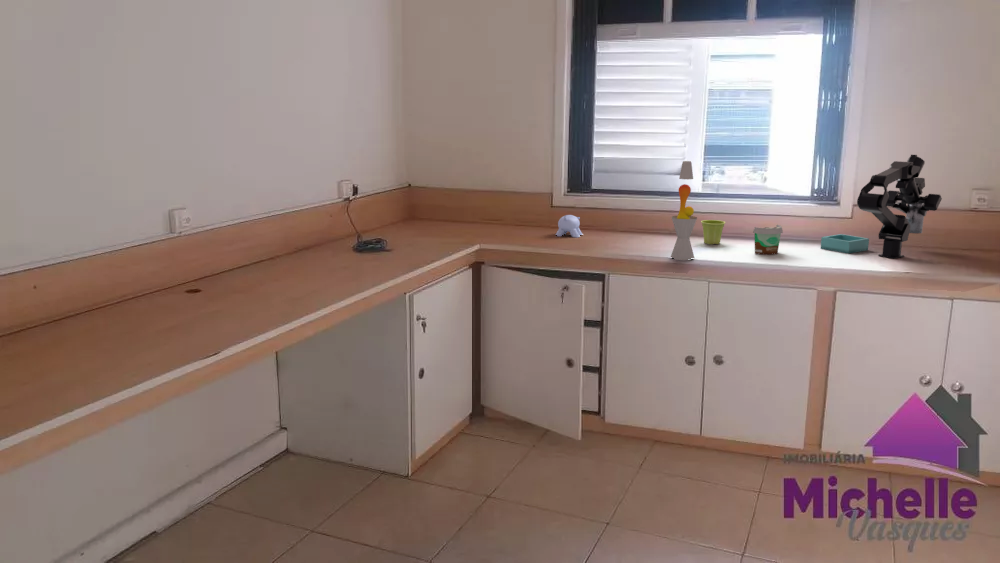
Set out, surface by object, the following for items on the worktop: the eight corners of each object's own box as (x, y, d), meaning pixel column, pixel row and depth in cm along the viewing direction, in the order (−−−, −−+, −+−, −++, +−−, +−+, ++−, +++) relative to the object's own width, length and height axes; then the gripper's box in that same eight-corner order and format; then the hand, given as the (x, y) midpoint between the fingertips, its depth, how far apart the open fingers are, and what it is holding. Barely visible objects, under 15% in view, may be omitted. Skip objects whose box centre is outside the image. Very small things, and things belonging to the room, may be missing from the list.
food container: (763, 256, 296) (765, 229, 293) (751, 253, 301) (753, 227, 299) (788, 253, 301) (790, 227, 299) (775, 250, 307) (777, 224, 304)
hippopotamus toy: (587, 233, 348) (588, 211, 345) (577, 238, 334) (577, 216, 332) (563, 231, 352) (564, 209, 350) (552, 237, 338) (552, 214, 336)
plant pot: (727, 242, 324) (728, 221, 322) (719, 246, 316) (721, 224, 314) (704, 240, 329) (705, 219, 327) (696, 244, 321) (697, 222, 319)
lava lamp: (667, 259, 291) (672, 161, 283) (671, 254, 300) (676, 159, 292) (693, 261, 288) (698, 162, 280) (696, 256, 296) (701, 160, 288)
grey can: (926, 233, 303) (929, 201, 300) (913, 233, 301) (916, 201, 298) (913, 230, 309) (916, 199, 306) (900, 231, 307) (903, 199, 304)
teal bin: (848, 253, 300) (849, 241, 299) (820, 248, 310) (821, 237, 309) (868, 250, 307) (869, 238, 306) (840, 245, 316) (841, 234, 315)
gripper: (943, 172, 290) (950, 200, 300) (889, 169, 304) (898, 195, 313) (932, 196, 287) (940, 223, 297) (878, 191, 300) (888, 218, 310)
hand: (916, 214), depth 304 cm, fingers closed on grey can, 6 cm apart
